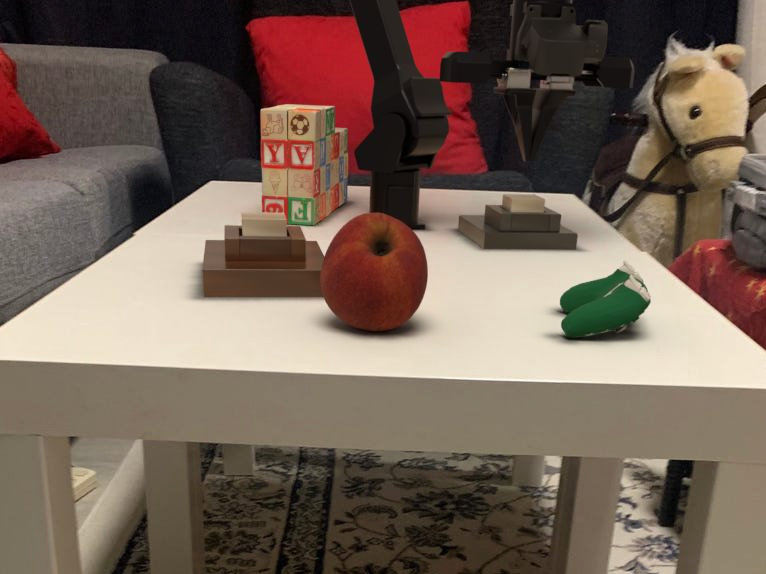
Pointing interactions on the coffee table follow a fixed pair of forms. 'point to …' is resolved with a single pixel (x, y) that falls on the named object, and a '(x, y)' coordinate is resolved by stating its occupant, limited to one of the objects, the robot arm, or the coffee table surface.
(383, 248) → the apple
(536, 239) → the grey stepped pedestal
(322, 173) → the stack of blocks
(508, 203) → the key
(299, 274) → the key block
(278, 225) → the key
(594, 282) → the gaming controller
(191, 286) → the coffee table surface
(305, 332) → the coffee table surface
